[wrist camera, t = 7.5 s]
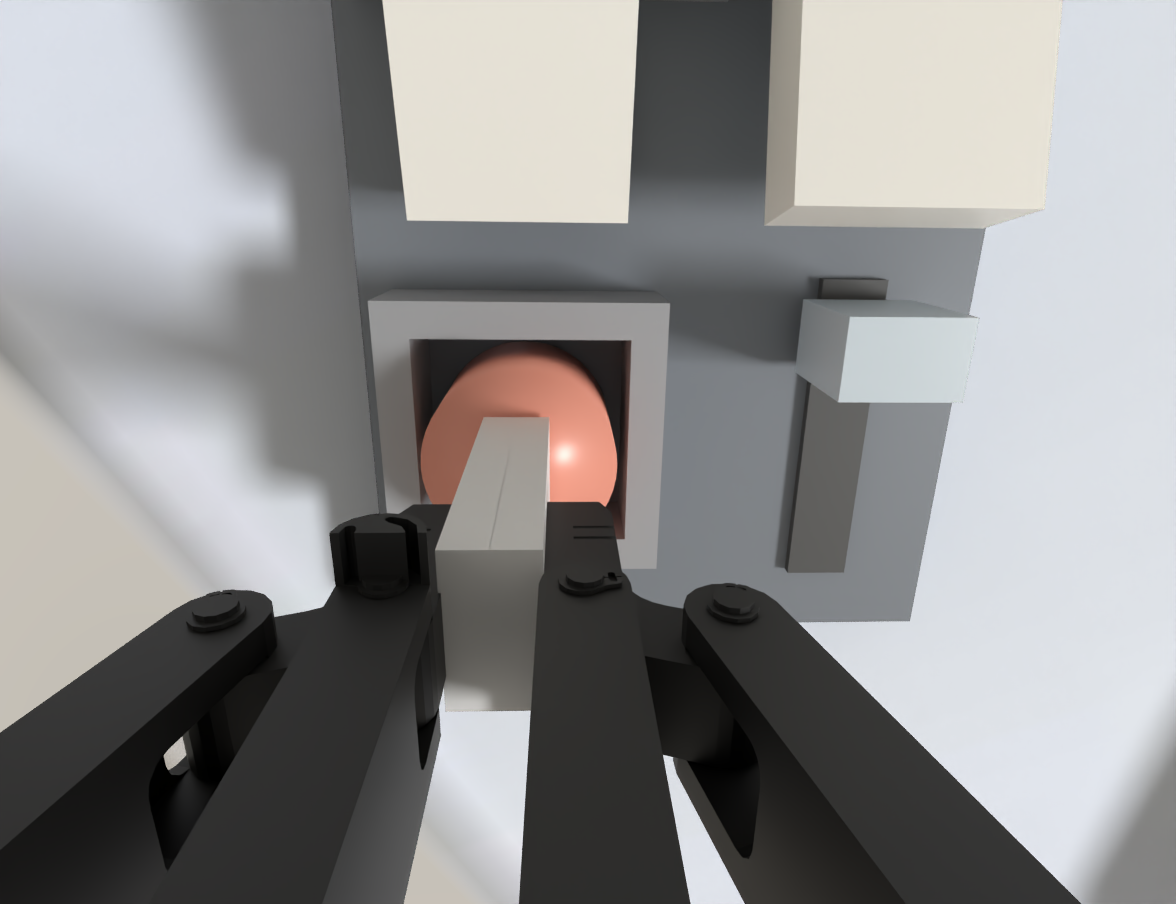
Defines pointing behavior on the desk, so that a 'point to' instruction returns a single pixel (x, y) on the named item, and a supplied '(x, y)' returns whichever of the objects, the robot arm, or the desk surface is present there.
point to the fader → (885, 350)
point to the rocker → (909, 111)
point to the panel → (668, 329)
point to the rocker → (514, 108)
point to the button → (525, 389)
